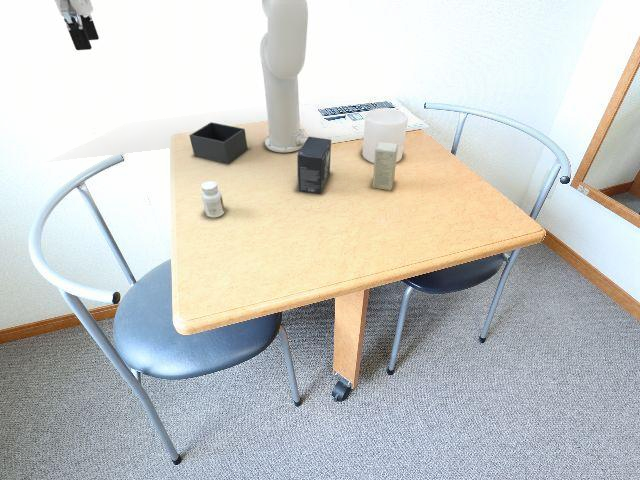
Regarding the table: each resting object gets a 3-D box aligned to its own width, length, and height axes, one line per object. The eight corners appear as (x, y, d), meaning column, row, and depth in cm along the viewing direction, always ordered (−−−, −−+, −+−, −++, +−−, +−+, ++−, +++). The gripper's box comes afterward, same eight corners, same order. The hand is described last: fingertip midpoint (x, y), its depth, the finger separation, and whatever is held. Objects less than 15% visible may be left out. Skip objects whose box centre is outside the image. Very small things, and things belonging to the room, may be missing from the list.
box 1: (321, 194, 93) (321, 157, 87) (297, 191, 95) (295, 154, 88) (331, 173, 101) (331, 138, 95) (308, 171, 103) (307, 135, 96)
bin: (247, 149, 113) (244, 128, 108) (228, 164, 106) (224, 142, 101) (215, 142, 117) (211, 122, 112) (194, 156, 110) (189, 135, 105)
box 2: (394, 182, 98) (399, 144, 91) (390, 191, 95) (396, 151, 87) (374, 179, 99) (378, 140, 92) (371, 187, 96) (374, 148, 89)
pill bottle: (228, 212, 88) (222, 184, 83) (213, 220, 85) (206, 192, 80) (217, 205, 90) (211, 177, 85) (202, 212, 88) (195, 185, 83)
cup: (354, 153, 110) (356, 114, 102) (381, 142, 116) (385, 104, 108) (382, 169, 103) (387, 128, 95) (410, 156, 109) (416, 117, 101)
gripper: (63, -47, 69) (99, 52, 80) (82, -51, 82) (110, 35, 93) (18, -46, 68) (61, 55, 79) (44, -50, 80) (78, 37, 91)
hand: (88, 44), depth 86 cm, fingers open, 9 cm apart
